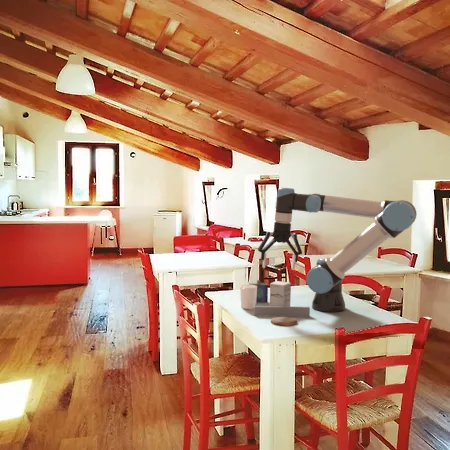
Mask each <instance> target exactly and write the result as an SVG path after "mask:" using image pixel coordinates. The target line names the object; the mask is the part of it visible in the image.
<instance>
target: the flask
mask: <svg viewBox="0 0 450 450" xmlns="http://www.w3.org/2000/svg"><path fill="white" fill-rule="evenodd" d="M248 285H256V286H257V298H256V303H265V304H266V303H267V304H268V301H269V299H268V298H269V297H268V296H269V295H268V293H269V291H268V289H269V286H268V284H267V283H265V282H261V279H258V280H256V283H253V282H252V283H249V284H248Z"/></svg>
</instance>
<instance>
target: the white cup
mask: <svg viewBox="0 0 450 450" xmlns="http://www.w3.org/2000/svg"><path fill="white" fill-rule="evenodd" d="M239 293H240V307H241V308H242V309H244V310H254V309H255V306H257V302H256V298H257V286H256V285H249V284H241V285H240V292H239Z"/></svg>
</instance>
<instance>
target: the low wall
mask: <svg viewBox="0 0 450 450" xmlns="http://www.w3.org/2000/svg"><path fill="white" fill-rule="evenodd" d="M253 310H254V311H253V312H254V313H253V315H254V317H303V318H305V317H306V318H307V317H308V318H309V317H310V316H311V315H310V314H311V308H310V306H290V307H286V306H270V305H256V306H255V308H254V309H253Z"/></svg>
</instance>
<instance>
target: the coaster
mask: <svg viewBox="0 0 450 450" xmlns="http://www.w3.org/2000/svg"><path fill="white" fill-rule="evenodd" d="M270 323H271V324H272V325H274V326H278V325H279V326H280V327H291V326H292V327H293V326H295V325H298V320H297V319H296V318H294V317H291V316H274V317H272V318H271V319H270Z"/></svg>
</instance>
